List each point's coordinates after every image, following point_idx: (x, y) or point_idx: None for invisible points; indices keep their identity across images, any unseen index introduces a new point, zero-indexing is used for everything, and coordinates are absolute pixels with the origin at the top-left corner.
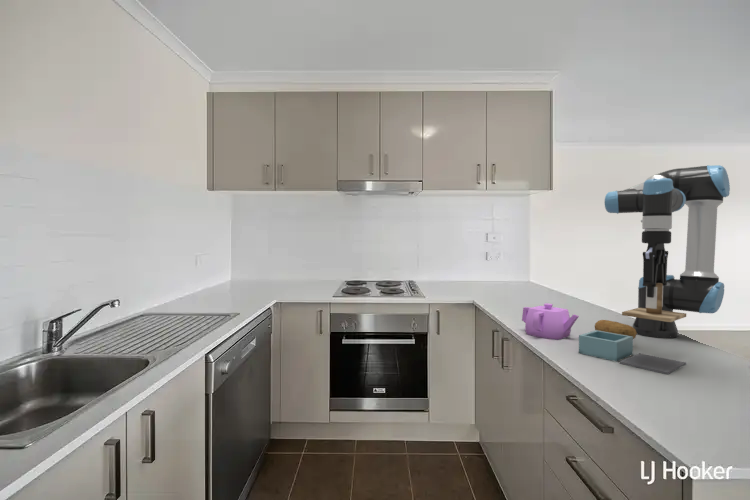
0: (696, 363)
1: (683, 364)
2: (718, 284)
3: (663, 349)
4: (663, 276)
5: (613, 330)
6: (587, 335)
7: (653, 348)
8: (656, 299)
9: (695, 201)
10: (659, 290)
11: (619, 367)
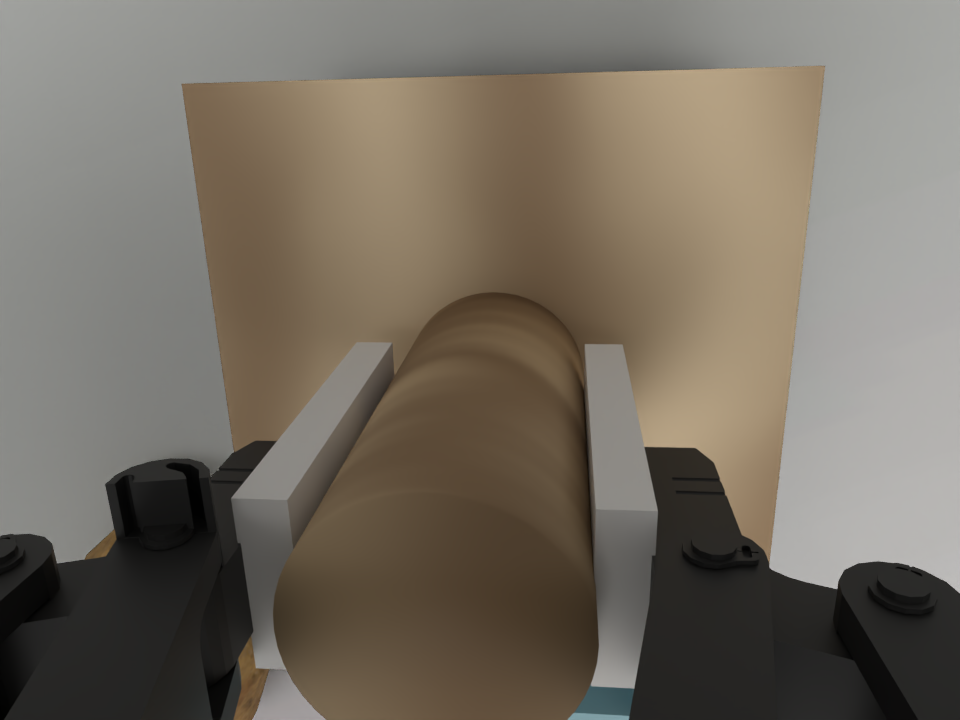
0: (238, 43)
1: None
2: None
3: (62, 335)
4: (69, 655)
5: (242, 651)
6: (583, 706)
7: (99, 388)
8: (611, 395)
9: None
10: (531, 445)
11: (795, 355)
